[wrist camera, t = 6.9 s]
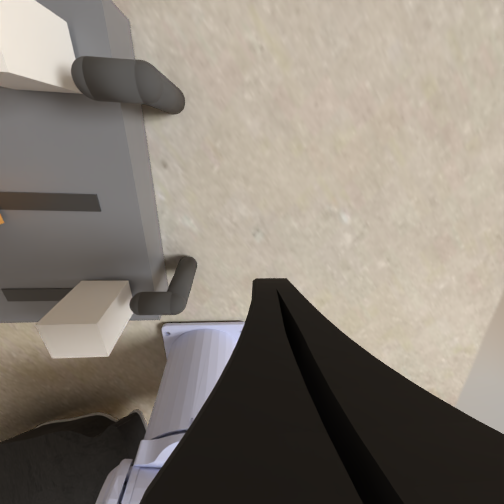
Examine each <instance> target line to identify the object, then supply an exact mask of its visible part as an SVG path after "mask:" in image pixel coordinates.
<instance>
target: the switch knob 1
mask: <svg viewBox="0 0 504 504" xmlns="http://www.w3.org/2000/svg"><path fill="white" fill-rule="evenodd" d="M74 60H76V59H75V55H74V51H73V46H72V42H71V38H70V34H69V30H68V25H67V22H66V21H64V20H63V19H61V18H60V17H59V16H57V15H56V14H54V13H53V12H51V11H50V10H48V9H47V8H46V7H44V6H43V5H41V4H40V3H38V2H37V1H35V0H0V86H1V87H6V88H10V89H16V90H32V91H47V92H63V93H79V94H83V93H81V92H80V91H79V89H78V88H77V87H76V85H75V84H74V82H73V79H72V75H71V67H72V64H73V62H74Z"/></svg>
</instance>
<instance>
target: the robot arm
mask: <svg viewBox="0 0 504 504" xmlns="http://www.w3.org/2000/svg"><path fill="white" fill-rule="evenodd" d="M161 330H162V336H163V341H164V347H165V352H166V358H167V363H166V366H165V369H164V373H163V376H162V380H161V383H160V386H159V390H158V393H157V397H156V400H155V403H154V407H153V410H152V413H151V417H150V420H149V424H148V427H147V430H146V434H145V437H144V440H141V442H140V445H139V448H138V452H137V455H136V458H135V461H134V465H133V466H132V461H133V459H123V460H122V461H121V463H120V464H119V465H118V466H117V467H115V468H114V469H113V470H112V471H111V472H110V473H109V474H108V476H107V478H106V480H105V482H104V484H103V487H102V489H101V491H100V493H99V496H98V498H97V501H96V503H95V504H504V434H502V433H500V432H499V431H497V430H495V429H493V428H491V427H489V426H487V425H485V424H483V423H481V422H479V421H478V420H476V419H474V418H472V417H470V416H469V415H467V414H465V413H464V412H462V411H460V410H458V409H457V408H455V407H453V406H451V405H450V404H448V403H446V402H444V401H443V400H441V399H439V398H438V397H436V396H434V395H433V394H431V393H429V392H428V391H426V390H424V389H423V388H421V387H419V386H418V385H416V384H415V383H413V382H411V381H410V380H408V379H407V378H405V377H404V376H402V375H401V374H399V373H398V372H396V371H395V370H393V369H392V368H390V367H389V366H387V365H386V364H384V363H383V362H381V361H380V360H378V359H377V358H375V357H374V356H373V355H371V354H370V353H369V352H367V351H366V350H365V349H363V348H362V347H361V346H359V345H358V344H357V343H355V342H354V341H353V340H351V339H350V338H349V337H348V336H346V335H345V334H344V333H343V332H342V331H340V330H339V329H338V328H337V327H336V326H335V325H333V324H332V323H331V322H330V321H329V320H328V319H327V318H325V317H324V316H323V315H322V314H321V313H320V312H319V311H318V310H317V309H316V308H315V307H314V306H313V305H312V304H311V303H310V302H309V301H308V300H307V299H306V298H305V297H304V296H303V295H302V294H301V293H300V292H299V291H298V290H297V289H296V288H295V287H294V286H293V285H292V284H291V283H290V282H289V280H288V279H287V278H265V279H255V280H253V286H252V301H251V305H250V308H249V312H248V315H247V318H246V321H245V322H205V323H166V324H163V326H162V329H161ZM241 330H242V331H241ZM167 332H169V333H167Z"/></svg>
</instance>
